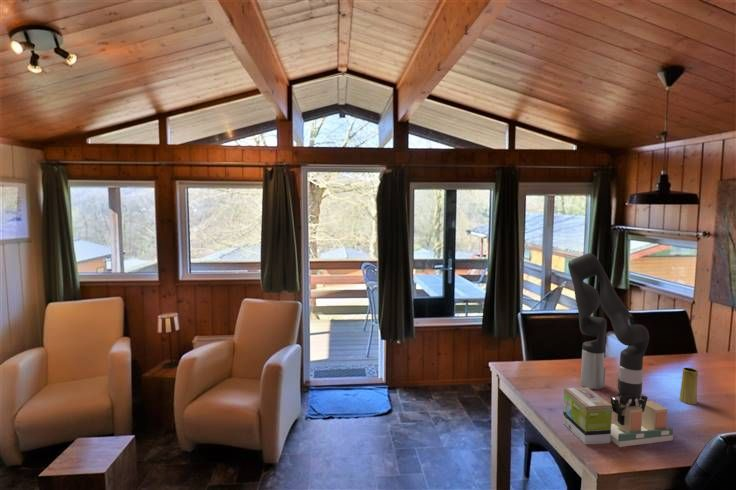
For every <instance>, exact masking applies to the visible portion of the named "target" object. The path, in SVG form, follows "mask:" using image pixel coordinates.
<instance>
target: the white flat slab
mask: <svg viewBox="0 0 736 490" xmlns="http://www.w3.org/2000/svg"><path fill="white" fill-rule="evenodd" d="M673 438H674V428H673V427H666V428H664V429H656V430H647V429H645V428H644V427H642V426H641V431H639V432H630V433H626V432H625V431H623V430H622V429H620V428H619V427H617V426H616V425H614V423H611V437H610V442H613V444H615V445H616V446H618V447H619V448H622V447H629V446H637V445H645V444H653V443H654V444H655V443H664V442H670V441H673Z"/></svg>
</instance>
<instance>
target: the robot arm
mask: <svg viewBox="0 0 736 490" xmlns="http://www.w3.org/2000/svg"><path fill="white" fill-rule="evenodd" d="M567 265H568V272H569V274H570V275H569V276H570V278H571V281H572V285H573V289H574V297H575V304H576V307H577V312H578V321H579V322H578V324H579V330H580V333H581V334H582V335H583V336H584V335H585V336H589V337H594V338H595V337H596V339H594V340H590V341H585V342H583V343H582V347H581V348H582V350H581V370H580V385H581V386H582V387H588V388H589V389H590V390H597V391H598V390H602V389H603V388H605V387H606V385H605V383H606V367H605V352H606V351H605V347H606V346H605V345H606V336H607V335H606V334H607V320H606V318H604V317H600V316H592V314H594V313H595V312H596V311H597V310H598V309H599V307H600V306H601V308H602V310H603V311H604V313H605V314H606V316H607V318H609V320H610V322H611V326H612V330H613V332H614V335H615V337H616V339H617V340H618V341H619V342H620V343H621V344H622V345H624V346H626V348H624V349H623V350H621V351H620V356H619V367H618V373H617V375H618V378H617V390H618V394H617V396H615V397H614V396H611V397H610V404H611V405H612V413H613V412H614V414H615V413H617V414H618V418H617V421H618V423H619V424H621V425H624V418H625V416H624V415H625V410H626V408H629V407H630V406H636V407H640V406H641V405H642V406H641V407H640V408H642V412H644V409H645V406H646V402H647V401H648V396H646V395H644V394H643V377H644V376H643V375H644V374H643V365H644V362H643V361H644V356H645V354H646V352H647V348H648V345H649V342H650V333H649V330H648V328H647V327H645V326H644V325H643V324H638V323H637V324H636V323H635V324H628V323H629V322H628V320H629V319H630V318H631V312H630V311H629V309H628V308H627V307H626V305H625V304H624V302H623V301H622V299H621V298H620V297H619V295H618V294H617V292H616V290H615V288H614V287H613V284H612V283H611V281H610V279H609V277H608V274H607V273H606V271H605V269H604V267H603V266H602V264H601V262H600V260H599V259H598V258H597V256H596V255H594V254H593V253H590V252H589V253H585V254H583V255H579V256H577V257H576V258H573V259H571V260H569V261H568V264H567ZM595 276H596V278H597V279H598V281H599V291H598V290H597V289H596V287H593V286H592V285H591V284H589V283H586V282H585V280H586V279H590V278H592V277H595ZM621 404H623V405H624V406H625V407H623V406H622V405H621ZM621 408H622V411H621Z"/></svg>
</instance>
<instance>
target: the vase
mask: <svg viewBox="0 0 736 490" xmlns="http://www.w3.org/2000/svg"><path fill="white" fill-rule="evenodd" d="M698 375H699V371H698V370H697V369H696V368H692V367H682V377H681V384H680V385H681V386H680V392H679V400H680V402H682V403H684V404H687V405H697V404H698V379H699V378H698Z"/></svg>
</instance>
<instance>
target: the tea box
mask: <svg viewBox="0 0 736 490" xmlns="http://www.w3.org/2000/svg"><path fill="white" fill-rule="evenodd" d="M612 417H613V410H612V404H611V403H610V402H608V401H607V400H606V399H604V397H601V396H600V395H599V394H597V393H596V392H594V391H593V389H589V388H588V387H584V386H582V387H570V388H567V387H566V388H564V389H563V415H562V423H563V425H565V426H566V427H567V428H568V429H569V430H570V431H571V432H572V433H573V434H574V435H575V436H576V437H577V438H578V439H579V441H580V442H582V443H583V444H584V445H601V444H610V443H611V440H610V437H611V424H612Z"/></svg>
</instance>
